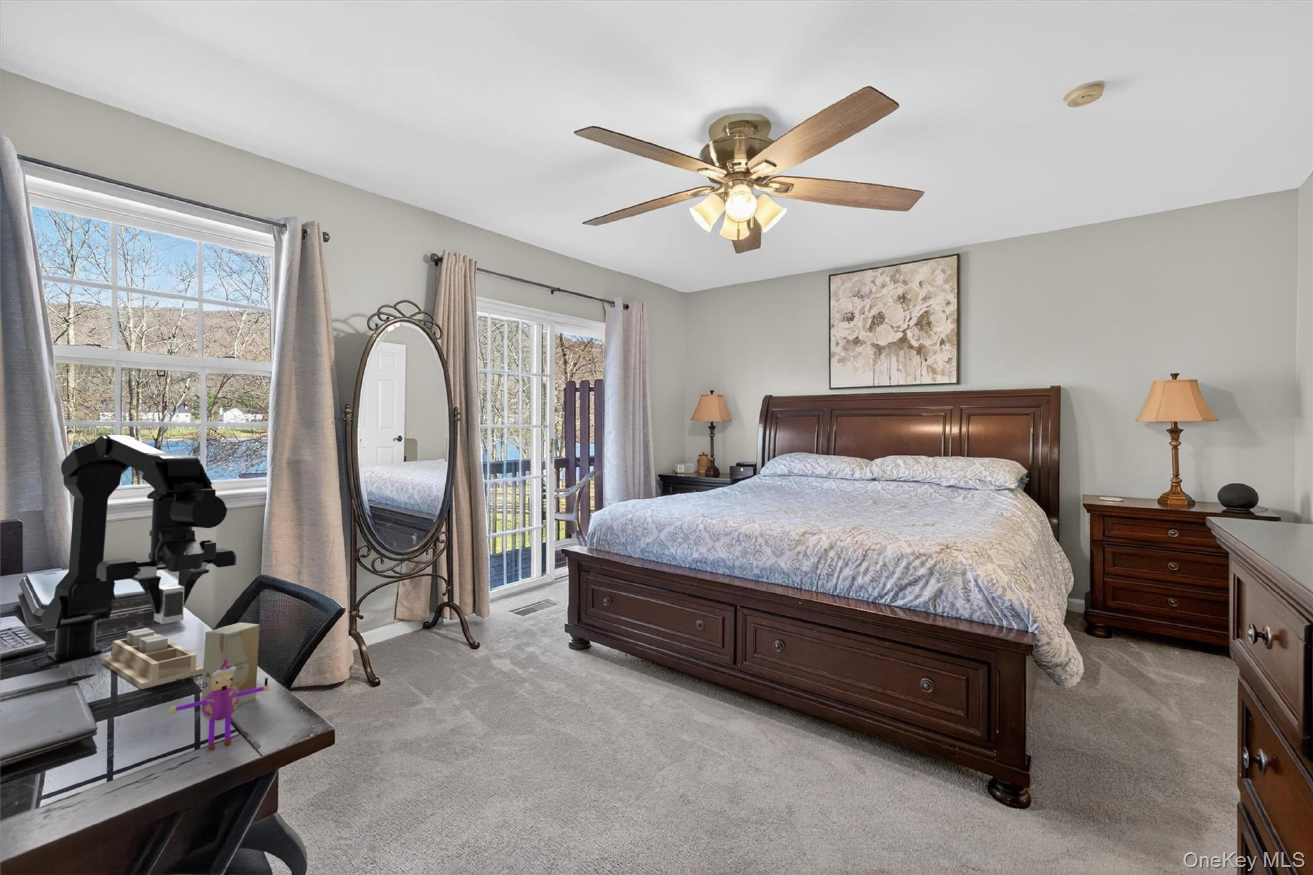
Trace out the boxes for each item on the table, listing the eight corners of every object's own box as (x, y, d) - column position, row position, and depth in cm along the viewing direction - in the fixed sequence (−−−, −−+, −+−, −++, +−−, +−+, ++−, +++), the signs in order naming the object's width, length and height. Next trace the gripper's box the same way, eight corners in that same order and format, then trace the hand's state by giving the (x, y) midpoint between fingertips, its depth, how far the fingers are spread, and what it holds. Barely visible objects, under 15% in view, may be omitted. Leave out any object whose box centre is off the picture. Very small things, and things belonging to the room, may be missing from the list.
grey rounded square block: (184, 620, 105) (185, 587, 105) (163, 624, 103) (164, 590, 103) (174, 616, 107) (175, 583, 108) (153, 620, 105) (155, 586, 105)
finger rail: (102, 662, 111) (103, 633, 111) (161, 650, 118) (162, 622, 118) (141, 689, 99) (143, 656, 99) (204, 673, 107) (206, 642, 107)
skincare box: (222, 714, 90) (225, 634, 91) (199, 711, 91) (202, 632, 92) (258, 697, 97) (261, 623, 97) (236, 694, 98) (239, 621, 98)
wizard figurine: (168, 764, 76) (172, 671, 76) (165, 755, 78) (169, 664, 78) (269, 735, 84) (273, 651, 84) (264, 728, 86) (267, 646, 86)
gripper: (119, 534, 93) (114, 632, 93) (250, 523, 109) (247, 607, 109) (97, 528, 100) (93, 620, 99) (225, 519, 115) (221, 598, 115)
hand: (168, 611), depth 105 cm, fingers closed on grey rounded square block, 3 cm apart
